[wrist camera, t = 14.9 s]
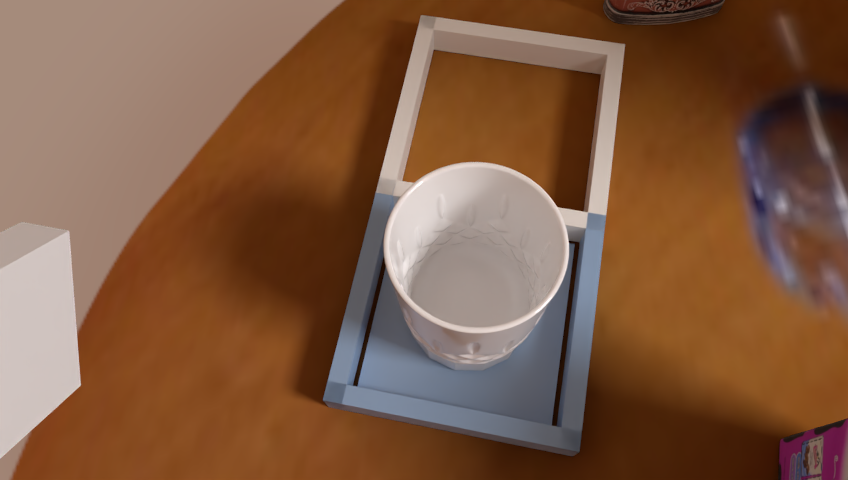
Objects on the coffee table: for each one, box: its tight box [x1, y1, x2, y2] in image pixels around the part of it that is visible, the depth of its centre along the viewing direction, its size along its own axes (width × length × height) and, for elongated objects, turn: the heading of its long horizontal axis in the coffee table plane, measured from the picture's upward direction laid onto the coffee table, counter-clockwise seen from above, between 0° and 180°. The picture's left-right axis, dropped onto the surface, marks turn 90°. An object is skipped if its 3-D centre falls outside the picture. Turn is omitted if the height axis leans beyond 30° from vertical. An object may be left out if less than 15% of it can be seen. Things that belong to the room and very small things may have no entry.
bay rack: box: [323, 15, 625, 457], centre depth 41 cm, size 13×25×2 cm, turn 169°
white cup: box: [383, 162, 569, 371], centre depth 35 cm, size 8×8×10 cm
